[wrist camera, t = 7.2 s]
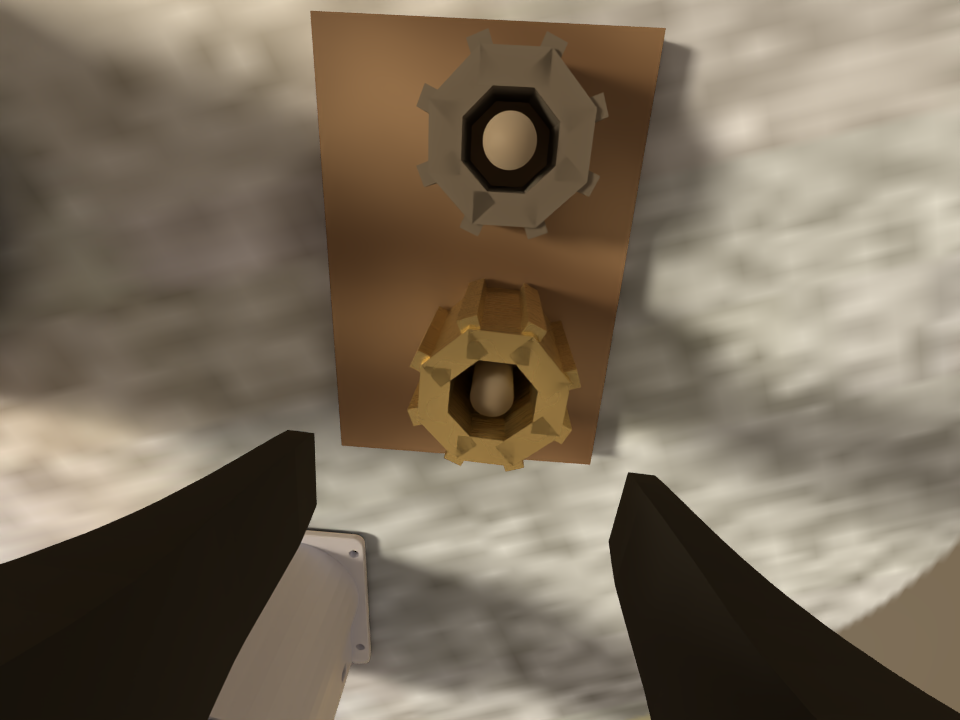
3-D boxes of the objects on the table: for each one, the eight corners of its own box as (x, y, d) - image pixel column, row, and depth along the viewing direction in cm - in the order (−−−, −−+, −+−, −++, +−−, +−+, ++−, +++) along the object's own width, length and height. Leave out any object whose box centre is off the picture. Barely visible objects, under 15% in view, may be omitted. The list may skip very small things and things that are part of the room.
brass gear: (572, 287, 18) (594, 331, 13) (549, 407, 20) (562, 482, 15) (436, 271, 18) (410, 309, 13) (427, 392, 20) (403, 462, 15)
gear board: (586, 449, 22) (607, 530, 17) (350, 431, 22) (306, 505, 17) (654, 37, 16) (719, -18, 11) (324, 21, 16) (244, -39, 11)
